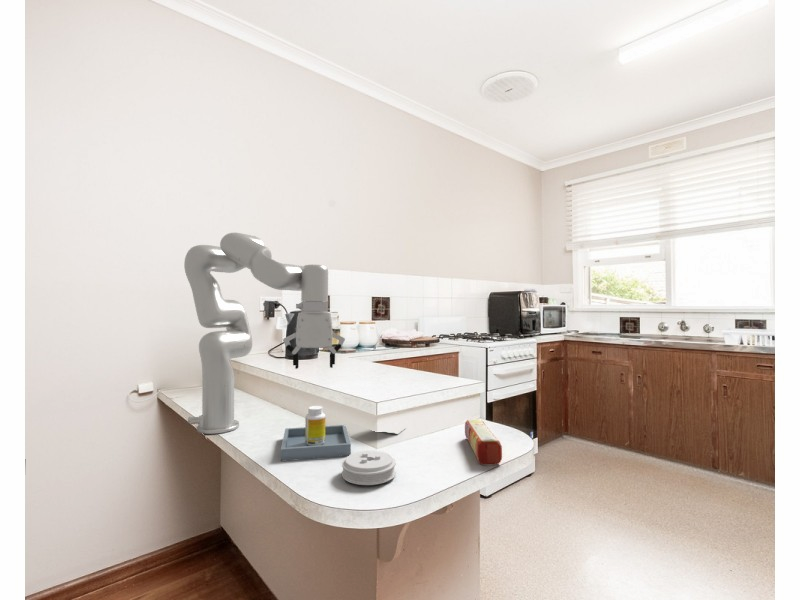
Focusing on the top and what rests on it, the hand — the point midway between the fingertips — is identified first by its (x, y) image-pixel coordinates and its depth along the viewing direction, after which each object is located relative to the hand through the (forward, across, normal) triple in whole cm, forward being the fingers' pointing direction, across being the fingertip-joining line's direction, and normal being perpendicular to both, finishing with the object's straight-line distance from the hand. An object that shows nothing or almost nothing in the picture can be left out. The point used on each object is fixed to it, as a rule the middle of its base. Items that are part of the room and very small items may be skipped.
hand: (314, 367), depth 117 cm
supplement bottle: (+22, 0, -1) cm, 22 cm away
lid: (+23, +13, -24) cm, 35 cm away
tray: (+22, +1, -1) cm, 22 cm away
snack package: (+22, +45, -14) cm, 52 cm away
